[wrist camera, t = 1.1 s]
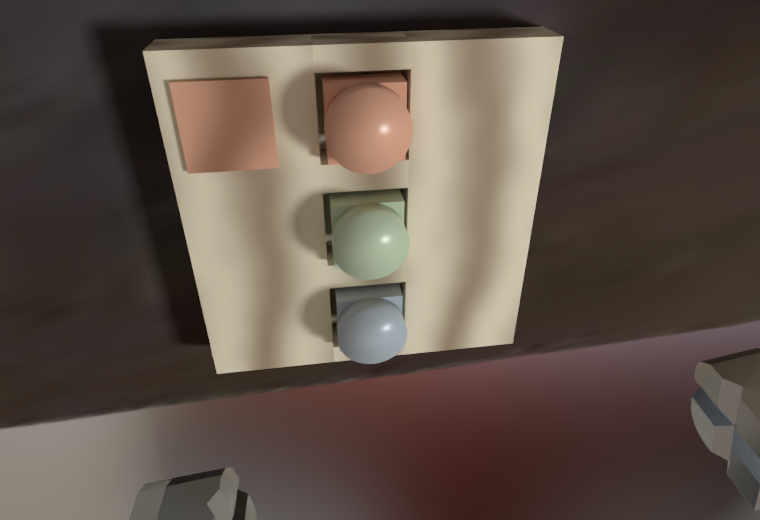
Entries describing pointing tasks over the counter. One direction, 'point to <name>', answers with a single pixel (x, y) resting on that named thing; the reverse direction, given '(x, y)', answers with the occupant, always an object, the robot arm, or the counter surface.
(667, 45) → the counter surface
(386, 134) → the terracotta button
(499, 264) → the button panel
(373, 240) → the sage button
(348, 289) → the slate button
